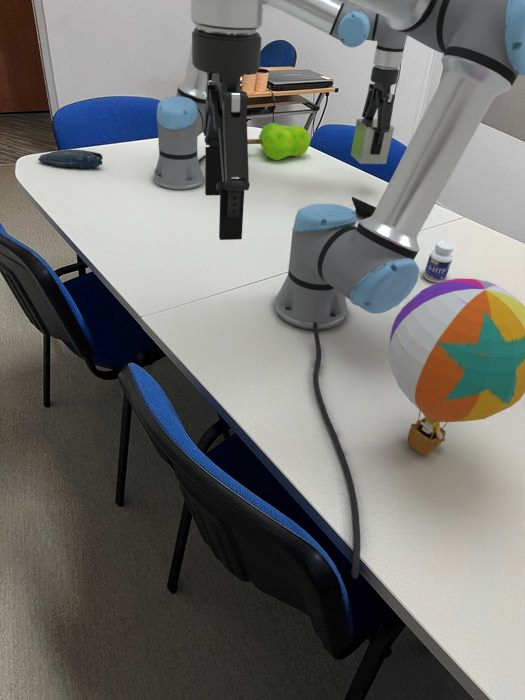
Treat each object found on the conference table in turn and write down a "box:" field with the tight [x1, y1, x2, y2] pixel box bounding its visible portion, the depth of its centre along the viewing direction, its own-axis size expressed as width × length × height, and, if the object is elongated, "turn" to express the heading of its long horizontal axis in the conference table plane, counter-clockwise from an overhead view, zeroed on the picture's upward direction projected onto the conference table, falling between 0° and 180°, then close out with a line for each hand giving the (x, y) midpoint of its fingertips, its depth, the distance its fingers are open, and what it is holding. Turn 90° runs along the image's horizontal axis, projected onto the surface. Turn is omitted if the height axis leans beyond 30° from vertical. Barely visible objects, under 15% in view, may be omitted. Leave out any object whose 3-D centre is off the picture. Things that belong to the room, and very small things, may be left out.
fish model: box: [37, 149, 104, 170], centre depth 166 cm, size 7×21×5 cm, turn 84°
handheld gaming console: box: [351, 196, 377, 218], centre depth 151 cm, size 12×7×10 cm
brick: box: [350, 118, 395, 165], centre depth 159 cm, size 8×9×11 cm
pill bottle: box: [423, 240, 454, 284], centre depth 125 cm, size 5×5×9 cm
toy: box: [387, 278, 525, 458], centre depth 75 cm, size 20×20×30 cm
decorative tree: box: [247, 122, 311, 161], centre depth 186 cm, size 18×10×30 cm
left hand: (369, 149), depth 160 cm, fingers closed on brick, 8 cm apart
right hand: (222, 215), depth 69 cm, fingers open, 13 cm apart
